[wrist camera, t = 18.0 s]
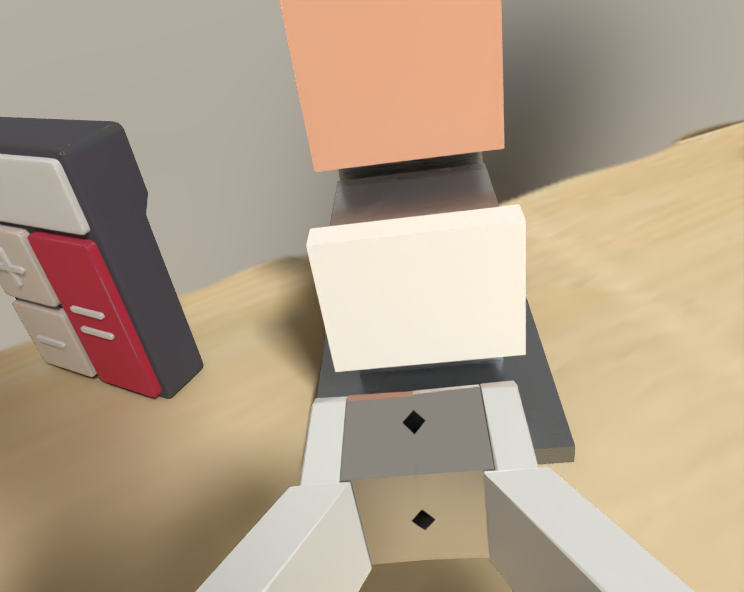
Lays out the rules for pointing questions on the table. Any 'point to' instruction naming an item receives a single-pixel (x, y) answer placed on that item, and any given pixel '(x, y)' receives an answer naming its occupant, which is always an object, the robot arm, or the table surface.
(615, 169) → the table surface
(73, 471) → the table surface
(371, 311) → the cream stepped block
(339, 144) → the orange plunger
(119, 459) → the table surface
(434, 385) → the press rig
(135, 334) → the dark rectangular slab
